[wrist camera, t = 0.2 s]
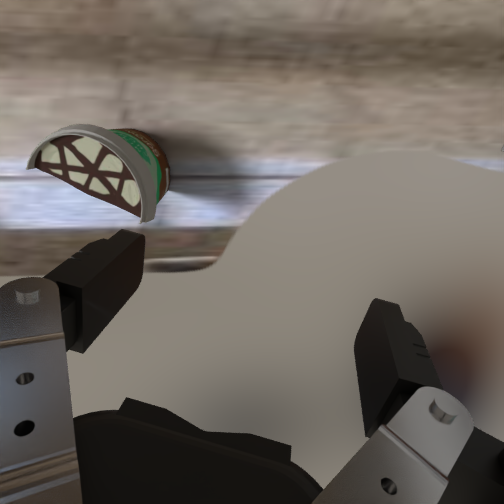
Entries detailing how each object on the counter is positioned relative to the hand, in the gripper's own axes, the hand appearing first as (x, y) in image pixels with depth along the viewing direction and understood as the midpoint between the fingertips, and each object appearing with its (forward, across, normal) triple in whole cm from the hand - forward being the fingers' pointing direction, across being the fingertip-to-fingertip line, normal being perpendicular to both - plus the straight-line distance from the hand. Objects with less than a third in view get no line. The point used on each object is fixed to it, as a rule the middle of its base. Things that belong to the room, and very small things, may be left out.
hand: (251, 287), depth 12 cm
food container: (+29, +17, +5) cm, 34 cm away
